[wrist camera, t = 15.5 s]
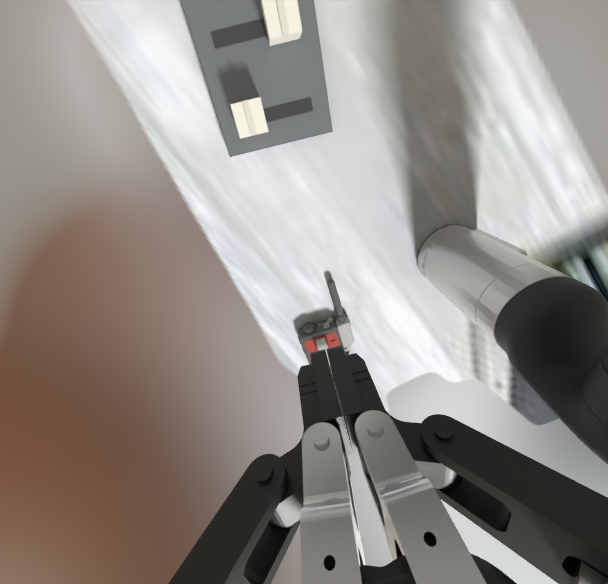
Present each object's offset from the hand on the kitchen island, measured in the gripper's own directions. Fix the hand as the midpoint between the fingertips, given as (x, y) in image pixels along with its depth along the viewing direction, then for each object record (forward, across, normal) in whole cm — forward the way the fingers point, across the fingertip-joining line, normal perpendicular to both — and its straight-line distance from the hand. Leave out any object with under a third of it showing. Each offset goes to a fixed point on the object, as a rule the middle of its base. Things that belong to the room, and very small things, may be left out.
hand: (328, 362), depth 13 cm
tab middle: (+26, -3, -18) cm, 32 cm away
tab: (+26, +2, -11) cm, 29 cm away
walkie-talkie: (+30, -1, +21) cm, 37 cm away
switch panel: (+29, -1, -18) cm, 34 cm away
